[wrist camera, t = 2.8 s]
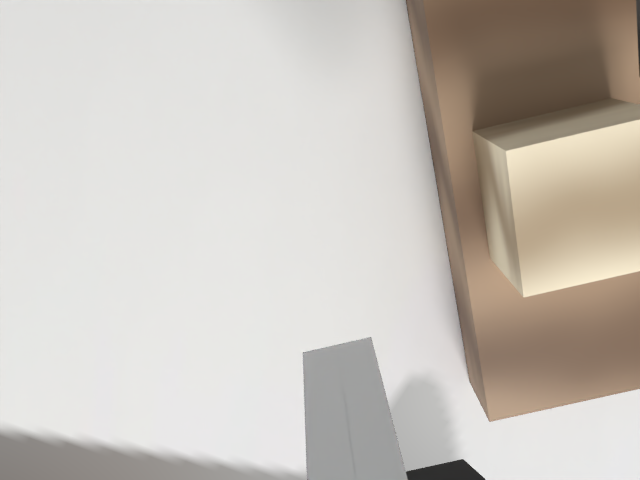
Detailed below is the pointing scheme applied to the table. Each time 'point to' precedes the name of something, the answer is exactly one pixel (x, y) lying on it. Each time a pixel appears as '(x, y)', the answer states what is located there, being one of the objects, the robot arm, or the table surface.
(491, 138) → the birch block
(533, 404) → the multicoloured piece
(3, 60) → the table surface
